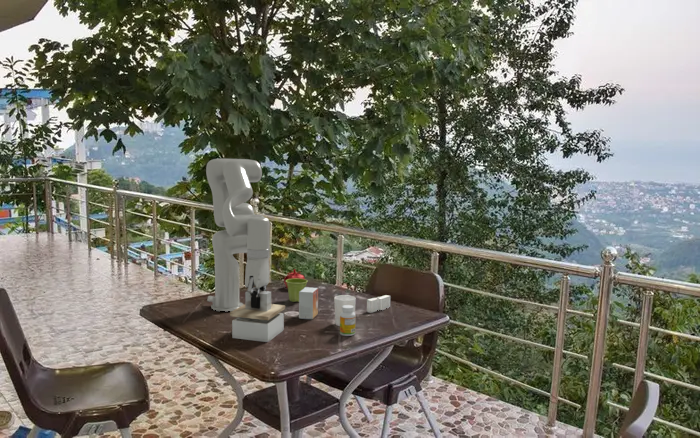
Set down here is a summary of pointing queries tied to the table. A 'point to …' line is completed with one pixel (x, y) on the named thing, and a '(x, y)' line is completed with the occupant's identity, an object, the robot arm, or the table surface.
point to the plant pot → (295, 288)
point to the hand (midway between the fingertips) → (258, 305)
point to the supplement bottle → (347, 320)
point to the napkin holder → (378, 303)
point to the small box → (308, 303)
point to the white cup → (340, 302)
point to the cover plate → (257, 313)
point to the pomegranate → (293, 276)
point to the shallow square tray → (257, 328)
